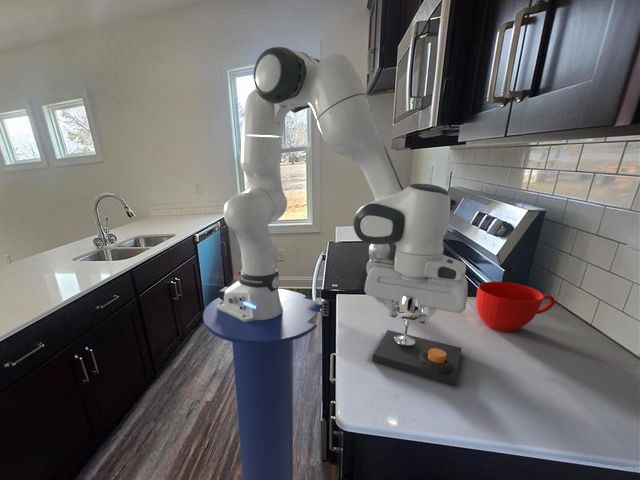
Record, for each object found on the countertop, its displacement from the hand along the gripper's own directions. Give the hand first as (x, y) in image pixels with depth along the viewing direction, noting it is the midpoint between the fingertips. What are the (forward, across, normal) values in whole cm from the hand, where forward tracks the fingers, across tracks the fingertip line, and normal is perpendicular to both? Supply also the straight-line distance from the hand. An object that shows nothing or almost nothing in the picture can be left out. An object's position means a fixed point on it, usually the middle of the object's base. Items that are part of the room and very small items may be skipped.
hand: (408, 319), depth 73 cm
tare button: (+5, +7, -5) cm, 10 cm away
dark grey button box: (+8, +3, -2) cm, 9 cm away
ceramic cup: (+8, +20, +26) cm, 34 cm away
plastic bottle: (+8, -16, +34) cm, 38 cm away
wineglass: (+6, 0, 0) cm, 6 cm away
